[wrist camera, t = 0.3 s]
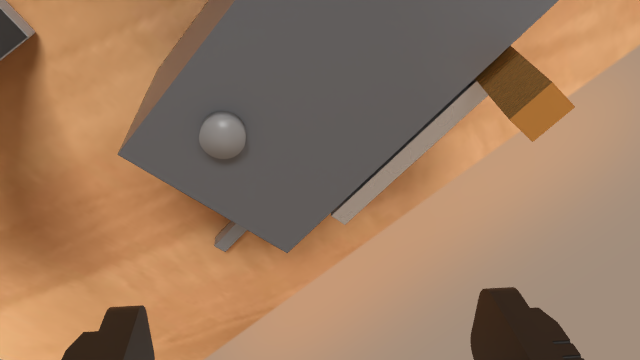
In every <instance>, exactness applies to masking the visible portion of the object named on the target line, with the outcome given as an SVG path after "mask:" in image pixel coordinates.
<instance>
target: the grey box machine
mask: <svg viewBox="0 0 640 360" xmlns="http://www.w3.org/2000/svg"><path fill="white" fill-rule="evenodd" d="M557 1H558V0H209V1H208V2H207V3H206V5H205V6H204V8H203V9H202V10H201V12H200V13H199V14H198V16H197V17H196V18H195V20H194V21H193V22H192V24H191V25H190V27H189V28H188V29H187V31H186V32H185V33H184V35H183V36H182V37H181V39H180V40H179V41H178V43H177V44H176V45H175V47H174V48H173V50H172V51H171V52H170V54H169V55H168V56H167V58H166V59H165V60H164V62H163V63H162V64H161V66H160V67H159V69H158V70H157V72H156V74H155V76H154V78H153V80H152V82H151V85H150V87H149V89H148V91H147V93H146V95H145V97H144V99H143V101H142V104H141V106H140V108H139V110H138V112H137V114H136V116H135V118H134V121H133V123H132V125H131V127H130V129H129V131H128V133H127V135H126V137H125V140H124V142H123V144H122V146H121V148H120V150H119V152H118V154H117V155H119V156H121V157H123V158H124V159H126V160H128V161H129V162H131V163H133V164H135V165H136V166H138V167H140V168H142V169H143V170H145V171H147V172H148V173H150V174H152V175H154V176H155V177H157V178H159V179H160V180H162V181H164V182H166V183H167V184H169V185H171V186H172V187H174V188H176V189H178V190H179V191H181V192H183V193H185V194H186V195H188V196H190V197H191V198H193V199H195V200H197V201H198V202H200V203H202V204H203V205H205V206H207V207H209V208H210V209H212V210H214V211H216V212H217V213H219V214H221V215H222V216H224V217H226V218H228V219H229V220H231V222H230V223H229V224H228V225H227V226H226V227H225V228H224V229H223V230H222V231H221V232H220V233H219V234H218V235H217V236H216V237H215V245H214V246H215V247H217V248H219V249H221V250H222V251H224V252H226V251H227V250H228V249H229V248H230V247H231V246H232V245H233V244H234V243H235V242H236V241H237V240H238V239H239V238H240V237H241V236H242V235H243V234H244V233H245V232H246V231H247V230H248V231H250V232H252V233H253V234H255V235H257V236H259V237H260V238H262V239H264V240H265V241H267V242H269V243H271V244H272V245H274V246H276V247H277V248H279V249H281V250H283V251H284V252H286V253H288V252H289V251H290V250H291V249H292V248H293V247H294V246H296V245H297V244H298V243H299V242H300V241H301V240H302V239H303V238H304V237H305V236H306V235H307V234H308V233H309V232H311V231H312V230H313V229H314V228H315V227H316V226H317V225H318V224H319V223H320V222H321V221H322V220H323V219H325V218H326V217H327V216H328V215H329V214H330V213H331V212H332V211H333V210H334V209H335V208H336V207H337V206H338V205H340V204H341V203H342V202H343V201H344V200H345V199H346V198H347V197H348V196H349V195H350V194H351V193H352V192H353V191H355V190H356V189H357V188H358V187H359V186H360V185H361V184H362V183H363V182H364V181H365V180H366V179H367V178H369V177H370V176H371V175H372V174H373V173H374V172H375V171H376V170H377V169H378V168H379V167H380V166H381V165H382V164H384V163H385V162H386V161H387V160H388V159H389V158H390V157H391V156H392V155H393V154H394V153H395V152H396V151H397V150H399V149H400V148H401V147H402V146H403V145H404V144H405V143H406V142H407V141H408V140H409V139H410V138H411V137H413V136H414V135H415V134H416V133H417V132H418V131H419V130H420V129H421V128H422V127H423V126H424V125H425V124H426V123H428V122H429V121H430V120H431V119H432V118H433V117H434V116H435V115H436V114H437V113H438V112H439V111H440V110H441V109H443V108H444V107H445V106H446V105H447V104H448V103H449V102H450V101H451V100H452V99H453V98H454V97H455V96H457V95H458V94H459V93H460V92H461V91H462V90H463V89H464V88H465V87H466V86H467V85H468V84H469V83H470V82H472V81H473V80H474V79H475V78H476V77H477V76H478V75H479V74H480V73H481V72H482V71H483V70H484V69H485V68H487V67H488V66H489V65H490V64H491V63H492V62H493V61H494V60H495V59H496V58H497V57H498V56H499V55H501V54H502V53H503V52H504V51H505V50H506V49H507V48H508V47H509V46H510V45H511V44H512V43H513V42H514V41H516V40H517V39H518V38H519V37H520V36H521V35H522V34H523V33H524V32H525V31H526V30H527V29H528V28H529V27H531V26H532V25H533V24H534V23H535V22H536V21H537V20H538V19H539V18H540V17H541V16H542V15H543V14H545V13H546V12H547V11H548V10H549V9H550V8H551V7H552V6H553V5H554V4H555V3H556V2H557Z"/></svg>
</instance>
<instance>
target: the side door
mask: <svg viewBox="0 0 640 360" xmlns="http://www.w3.org/2000/svg"><path fill="white" fill-rule="evenodd" d="M488 95H489V96H490V97H491V98H492V100H493V101H494V102H495V103H496V104H497V106H498V107H499V108H500V109H501V110H502V111H503V113H504V114H505V115H506V116H507V117H508V119H509V120H510V121H511V122H512V123H513V124H515V125H516V126H517V127H518V128H519V129H520V130H521V131H522V132H523V133H524V134H525V135H526V136H527V137H528V138H529V139H530V140H531V141H532V142H533V141H534V140H535V139H537V138H538V137H539V136H540V135H541V134H543V133H544V132H545V131H546V130H548V129H549V128H550V127H551V126H552V125H554V124H555V123H556V122H557V121H559V120H560V119H561V118H562V117H563V116H565V115H566V114H567V113H568V112H570V111H571V110H572V109H573V108H574V107H575V106H574V105H573V104H572V103H571V102H570V101H569V100H568V99H567V98H566V97H565V95H564V94H563V93H562V92H561V91H560V90H559V89H558V88H557V87H556V86H555V85H554V83H553V82H551V81H550V80H549V79H548V78H547V77H546V76H545V75H543V74H542V73H541V72H540V71H539V70H538V69H537V68H535V67H534V66H533V65H532V64H531V63H530V62H529V61H527V60H526V59H525V58H524V57H523V56H522V55H520V54H519V53H518V52H517V51H516V50H515V49H514V48H512V47H511V46H509V47H508V48H507V49H506V50H505V51H504V52H503V53H502V54H501V55H499V56H498V57H497V58H496V59H495V60H494V61H493V62H492V63H491V64H490V65H489V66H488V67H487V68H485V69H484V70H483V71H482V72H481V73H480V74H479V75H478V76H477V77H476V78H475V79H474V80H473V81H472V82H470V83H469V84H468V85H467V86H466V87H465V88H464V89H463V90H462V91H461V92H460V93H459V94H458V95H457V96H455V97H454V98H453V99H452V100H451V101H450V102H449V103H448V104H447V105H446V106H445V107H444V108H443V109H441V110H440V111H439V112H438V113H437V114H436V115H435V116H434V117H433V118H432V119H431V120H430V121H429V122H428V123H426V124H425V125H424V126H423V127H422V128H421V129H420V130H419V131H418V132H417V133H416V134H415V135H414V136H413V137H411V138H410V139H409V140H408V141H407V142H406V143H405V144H404V145H403V146H402V147H401V148H400V149H399V150H397V151H396V152H395V153H394V154H393V155H392V156H391V157H390V158H389V159H388V160H387V161H386V162H385V163H384V164H382V165H381V166H380V167H379V168H378V169H377V170H376V171H375V172H374V173H373V174H372V175H371V176H370V177H369V178H367V179H366V180H365V181H364V182H363V183H362V184H361V185H360V186H359V187H358V188H357V189H356V190H355V191H353V192H352V193H351V194H350V195H349V196H348V197H347V198H346V199H345V200H344V201H343V202H342V203H341V204H340V205H338V206H337V207H336V208H335V209H334V210H333V211H332V212H331V216H332V217H334V218H335V219H337V220H338V221H340V222H341V223H343V224H344V225H345V224H346V223H347V222H349V221H350V220H351V219H352V218H353V217H354V216H355V215H356V214H357V213H358V212H360V211H361V210H362V209H363V208H364V207H365V206H366V205H367V204H368V203H370V202H371V201H372V200H373V199H374V198H375V197H376V196H377V195H378V194H380V193H381V192H382V191H383V190H384V189H385V188H386V187H387V186H388V185H389V184H391V183H392V182H393V181H394V180H395V179H396V178H397V177H398V176H399V175H401V174H402V173H403V172H404V171H405V170H406V169H407V168H408V167H409V166H410V165H412V164H413V163H414V162H415V161H416V160H417V159H418V158H419V157H420V156H422V155H423V154H424V153H425V152H426V151H427V150H428V149H429V148H430V147H432V146H433V145H434V144H435V143H436V142H437V141H438V140H439V139H440V138H441V137H443V136H444V135H445V134H446V133H447V132H448V131H449V130H450V129H451V128H453V127H454V126H455V125H456V124H457V123H458V122H459V121H460V120H461V119H462V118H464V117H465V116H466V115H467V114H468V113H469V112H470V111H471V110H472V109H474V108H475V107H476V106H477V105H478V104H479V103H480V102H481V101H482V100H484V99H485V98H486V97H487V96H488Z"/></svg>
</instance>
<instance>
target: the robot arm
mask: <svg viewBox="0 0 640 360" xmlns="http://www.w3.org/2000/svg"><path fill="white" fill-rule="evenodd" d="M471 350H472V354H473V357H474V360H584V359H582V358H581V356H580V353H579V352H578V350H577V349H576V347H575V346H574V345H573V344H571V343H570V339H569V338H568V336H567V335H566V334H565V332H564V331H563V329H562V328H561V327H560V325H559V324H558V322H556V321H555V320H554V319H552V318H551V317H550V316H549V315H547V314H546V313H545V312H543V311H542V310H541V309H539V308H530V307H529V306H528V304H527V303H526V302H525V300H524V299H523V297H522V296H521V294H520V293H519V291H518V290H517V289H516V288H513V287H511V288H490V289H483V290H482V291H481V292H480V295H479V299H478V304H477V309H476V313H475V318H474V323H473V328H472V332H471ZM62 360H155V358H154V350H153V345H152V339H151V334H150V329H149V323H148V318H147V313H146V309H145V307H144V306H125V307H110V308H109V309H108V310H107V312H106V314H105V316H104V319H103V321H102V324H101V326H100V329H99V331H96V332H83V333H82V334H81V335H80V336H79V337H78V338H77V340H76V341H75V342H74V343H73V344H72V345H71V346H70V347H69V348H68V349H67V350H66V351H65V353H64V356H63V358H62Z"/></svg>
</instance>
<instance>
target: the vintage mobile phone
mask: <svg viewBox="0 0 640 360" xmlns="http://www.w3.org/2000/svg"><path fill="white" fill-rule="evenodd" d="M33 34H35V31H34V30H33V29H32V28H31V27H30V25H29V24H28V23H27V22H26V21H25V20H24V19H23V18H22V17H21V16H20V15H19V14H18V13H17V12H16V11H15V10H14V9H13V8H12V7H11V6H10V5H9V4H8V3H7V1H6V0H0V61H1V60H2V59H3V58H5V57H6V56H7V55H8V54H10V53H11V52H12V51H14V50H15V49H16V48H17V47H19V46H20V45H21V44H22V43H24V42H25V41H26V40H27V39H29V38H30V37H31V36H32V35H33Z"/></svg>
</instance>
